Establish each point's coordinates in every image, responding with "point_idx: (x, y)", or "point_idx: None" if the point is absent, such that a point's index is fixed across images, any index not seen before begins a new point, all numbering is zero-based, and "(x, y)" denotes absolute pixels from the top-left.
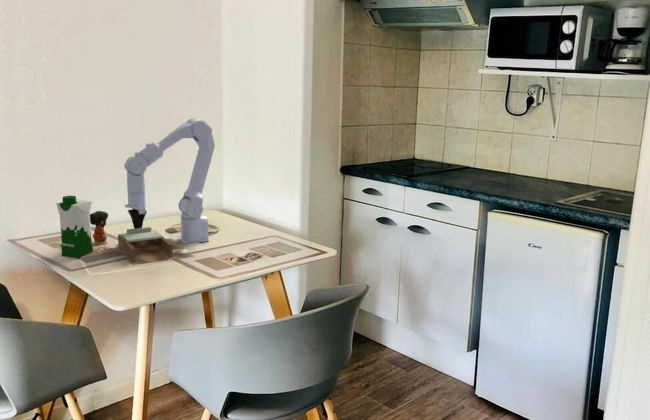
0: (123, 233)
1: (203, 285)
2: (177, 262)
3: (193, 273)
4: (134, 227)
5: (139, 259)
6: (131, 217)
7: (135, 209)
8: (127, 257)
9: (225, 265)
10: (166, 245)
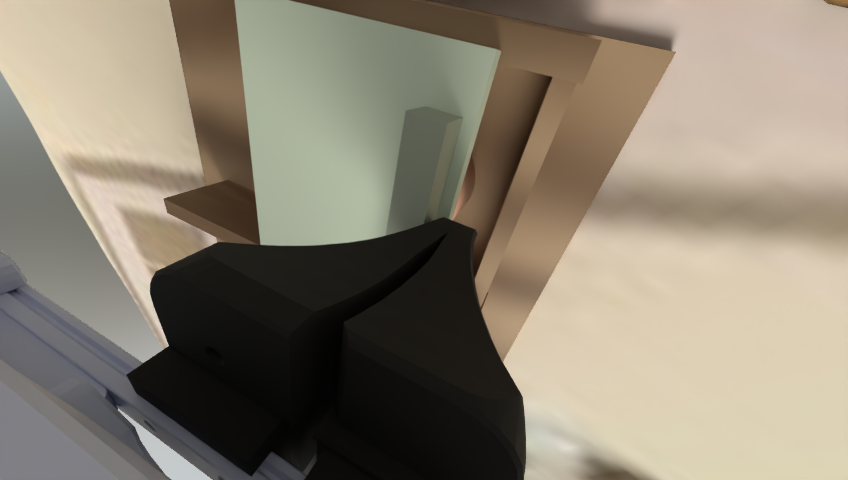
0: (482, 77)
1: (16, 93)
2: (192, 171)
3: (94, 137)
4: (434, 223)
5: (231, 34)
6: (426, 288)
7: (198, 426)
8: None
9: (151, 251)
10: (221, 211)
